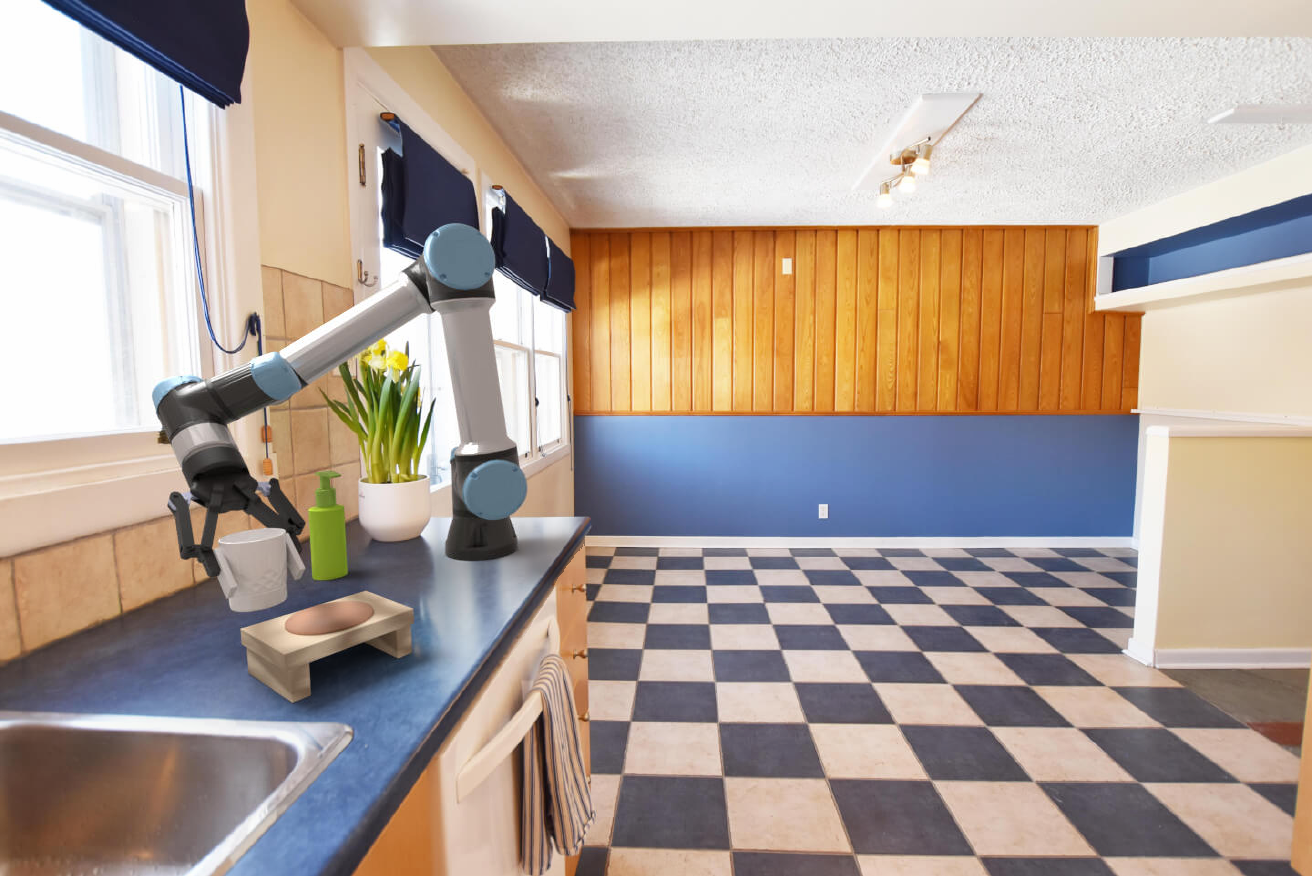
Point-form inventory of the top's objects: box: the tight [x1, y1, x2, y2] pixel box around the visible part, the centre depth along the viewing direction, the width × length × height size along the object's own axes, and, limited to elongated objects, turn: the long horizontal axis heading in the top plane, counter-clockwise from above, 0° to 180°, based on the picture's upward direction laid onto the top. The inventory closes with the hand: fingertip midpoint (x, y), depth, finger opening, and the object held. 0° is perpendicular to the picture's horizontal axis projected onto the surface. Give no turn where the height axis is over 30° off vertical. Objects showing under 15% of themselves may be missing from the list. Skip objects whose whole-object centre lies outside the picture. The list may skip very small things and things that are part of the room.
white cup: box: [217, 527, 288, 613], centre depth 82 cm, size 8×8×10 cm
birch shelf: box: [240, 590, 415, 704], centre depth 76 cm, size 16×12×6 cm
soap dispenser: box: [307, 470, 349, 581], centre depth 109 cm, size 6×7×20 cm
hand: (267, 582), depth 81 cm, fingers closed on white cup, 8 cm apart
